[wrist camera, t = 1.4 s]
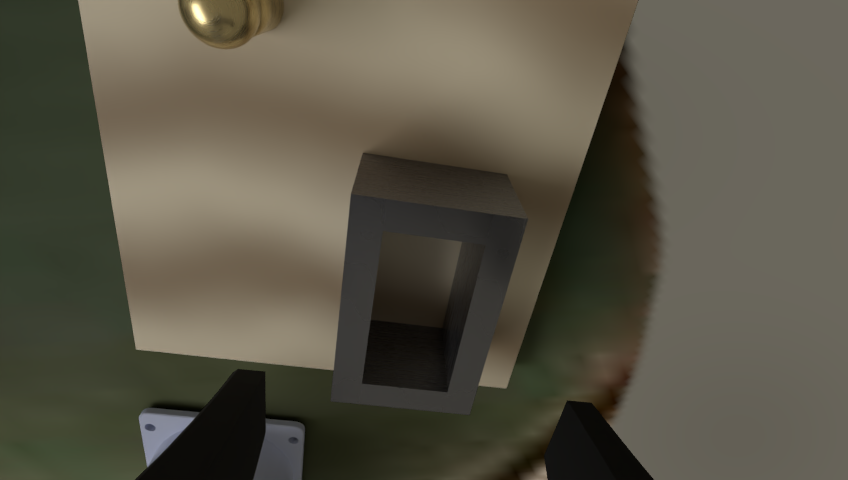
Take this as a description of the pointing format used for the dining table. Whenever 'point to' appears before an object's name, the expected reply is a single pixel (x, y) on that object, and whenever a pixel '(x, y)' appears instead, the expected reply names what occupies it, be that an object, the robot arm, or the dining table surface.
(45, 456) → the dining table surface
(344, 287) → the dark grey open box
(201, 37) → the brass knob
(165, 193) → the birch board
